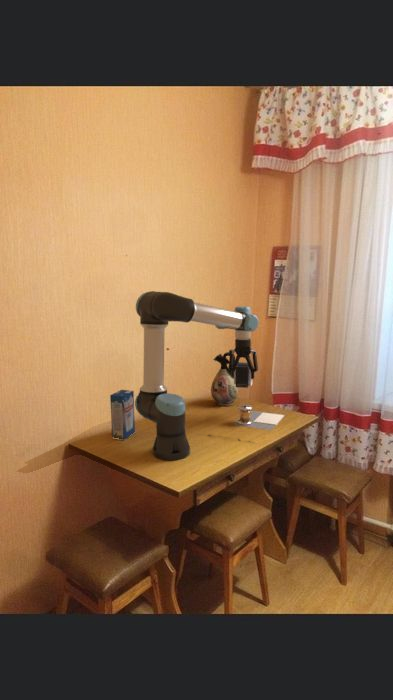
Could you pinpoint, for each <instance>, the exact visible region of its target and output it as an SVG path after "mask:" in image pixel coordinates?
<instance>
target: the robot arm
mask: <svg viewBox="0 0 393 700" xmlns="http://www.w3.org/2000/svg"><path fill="white" fill-rule="evenodd" d="M135 311H136V314H137V315H138V316H139V318H140V322H139V324H140V326H142V328H143V376H142V377H143V383H142V385H141V386H140V387H139V392H138V395H136V397H135V399H134V408H135V410H136V412H137V413H138V414H139V415H140V416H141V417H142V418H144V419H146V420H149V421H151V422H153V423H155V425H156V426H155V428H156V436H155V440H154V444H153V446H152V456H153V457H154V458H156V459H158V460H164V461H177V460H182V459H184V458H186V457H188V456H190V454H191V447H190V444H189V440H188V437H187V435H186V408H187V407H186V403H185V400H184V397H182V396H181V395H179V394H175V393H168V388H167V386H165V384H164V383H165V330H166V327H168V326H169V322H181V323H190V322H196V323H200V324H206V325H211V326H215V328H217V330H226V329H227V330H228V329H229V330H234V338H235V340H234V342H235V343H234V347H235V348H234V349H230V350H229V351H228V352H229V353H230V356H229V359H228V360H229V364H228V366H227V367H228V369H229V370H232V377H234V384H236V365H237V364H238V362H240V359H241V358H243V359H245V361H246V363H248V366H249V368H250V373H249V387H252V386H253V380H254V379H255V372H258V371H259V367H258V366H259V364H258V358H257V355H258V350H253V349H252V340H251V336H252V335H251V332H252V333H253V332H254V331H256V330H257V329H258V327H259V318H258V317H257V315H256V314H252V312H251V311H252V309H251V307H250V306H244V305H243V306H235V308H234V310H230V309H227V308H222V307H217V306H213V305H208V304H203V303H200V302H196V301H194V299H192V298H188V297H185V296H182V295H178V294H175V293H172V292H168V291H153V290H152V291H151V290H150V291H146V292H143V293H142V294H140V296H139V297H138V298H137V299H136V303H135ZM235 354H236V355H235ZM250 354H251V355H252V360H251V356H250ZM234 355H235V362H234V365H233V358H234ZM232 366H233V367H232Z"/></svg>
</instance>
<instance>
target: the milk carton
mask: <svg viewBox="0 0 393 700" xmlns="http://www.w3.org/2000/svg"><path fill="white" fill-rule="evenodd" d="M109 398H110V418H111V422H110V423H111V438H112V437H114V438H119V439H126V438H127V437H129V436H130V435H131V434H133V433H134V432H135V433H136V420H135V395H134V390H129V389H120V390H118V391H116V392H114V393H112V394H110V395H109ZM135 433H134V434H135ZM134 434H133V435H134ZM131 436H132V435H131ZM131 436H130V437H131ZM130 437H129V438H130ZM127 439H128V438H127ZM127 439H126V440H127Z"/></svg>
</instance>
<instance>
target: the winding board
mask: <svg viewBox="0 0 393 700" xmlns="http://www.w3.org/2000/svg"><path fill="white" fill-rule="evenodd" d="M285 416H286V415H285V414H282V413H281V414H280V413H273V412H266V411H259V410H258V411H257V410H250V420H252V424H251V425H240V424H238V420H239V418H238V419H237V420H236V421H235V422H234V423H232V424H233V425H234V426H239V427H248V428H255V429H259V430H260V429H262V430H268V431H273V430H274V429H275V427H277V425H278V424H279V423H280V422H281V421H282V420H283V418H284V417H285Z"/></svg>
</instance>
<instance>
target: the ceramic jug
mask: <svg viewBox="0 0 393 700" xmlns="http://www.w3.org/2000/svg"><path fill="white" fill-rule="evenodd" d="M227 357H230V353H229V351H227V352H224V354H221V353H219V354H218V355H216V356H215V357H214V358H213V361H215V362H218V363H219V364H220V369H218V372H216V375H215V376H214V377H213V381H212V382H211V388H210V394H211V398H212V399H213V400H214V401H215V403H216V405H218V406H221V407H228V406H233V405H234V402H235V400H237V398H238V396H239V387H236V384H234V377H232V370H229V369H228V367H229V366H228V365H229V359H228V358H227ZM235 360H236V355H235V354H234V358H233V365H234V362H235ZM232 367H233V366H232Z"/></svg>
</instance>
